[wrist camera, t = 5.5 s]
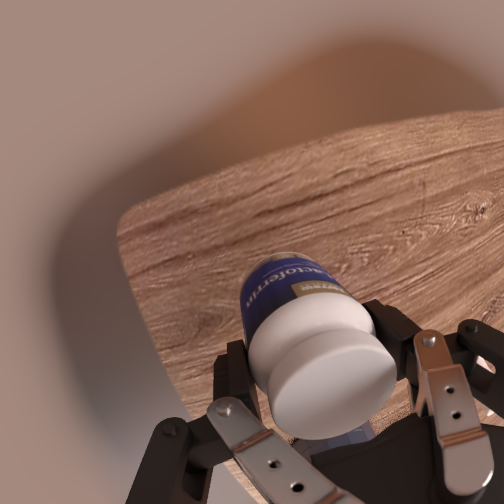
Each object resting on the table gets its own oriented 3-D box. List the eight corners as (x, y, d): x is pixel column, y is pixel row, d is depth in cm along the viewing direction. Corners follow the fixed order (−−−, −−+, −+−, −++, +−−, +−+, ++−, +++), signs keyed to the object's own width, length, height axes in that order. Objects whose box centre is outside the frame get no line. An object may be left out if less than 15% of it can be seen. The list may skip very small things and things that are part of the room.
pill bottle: (308, 234, 17) (403, 299, 7) (335, 308, 18) (413, 403, 9) (222, 273, 17) (225, 384, 7) (259, 343, 18) (289, 463, 9)
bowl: (279, 467, 30) (284, 493, 25) (302, 419, 27) (312, 450, 22) (351, 458, 32) (361, 481, 27) (384, 410, 29) (400, 434, 24)
